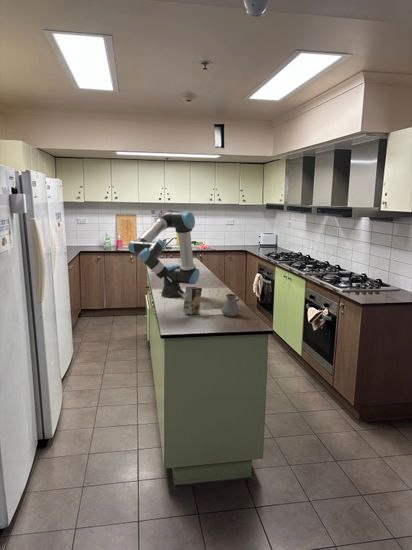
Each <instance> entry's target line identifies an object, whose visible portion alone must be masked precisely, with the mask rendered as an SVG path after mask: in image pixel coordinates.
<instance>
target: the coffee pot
mask: <svg viewBox="0 0 412 550" xmlns="http://www.w3.org/2000/svg"><path fill="white" fill-rule="evenodd" d="M225 296H226V300H225V302H224V304H223V306H222V308H221V309H222V313H223V314H224V315H223V316H226V317H230V318H231V317H232V318H233V317H236V316H238V315H239V313H240V312H241V311H240V308H239V305H238V303H241V299H240V298H237V297H238V295H237V294H235V293H227V294H226V295H225ZM236 298H237V299H236Z"/></svg>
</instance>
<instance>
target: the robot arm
mask: <svg viewBox="0 0 412 550" xmlns="http://www.w3.org/2000/svg"><path fill="white" fill-rule="evenodd" d="M195 224H196V220H195V216H194V214H193V213H192V212H191V211H187V210H168V211H165V212H163V213H162V214H160V215H158V216H157V217H156V218H155V219H154V221H153V224H151V225H150V226H149V227H148V228H147V229H146V231H144V232H143V233H142V235H140V236H139V237H138V239H136V240H131V241H129V242H128V245H127V247H128V248H127V249H128V251H129V252H130V253H134V254H138V258H139V259H140V260H141V262H143V264H145V266H146V267H147V268H149V269H150V270H151V273H152V272H153V273H154V275H156V277H158V279H162V278H163V287H162V290H161V297H162V298H166V299H175V298H176V299H177V298H181V297H182V298H184V299H185V298H186V297H187V296H188V295H187V294H186V293H185V291H184V290H183V289H182V288H181V286H180V284H184V285H196V284H197V282H198V281H199V278H200V269H198V268H197V266H196V264H195V263H194V256H193V247H192V246H193V245H192V235H191V233H192V231H193V229H194V228H195V226H196V225H195ZM169 228H171V229H174V230H175V233H177V235H178V243H179V244H178V245H179V252H180V253H179V255H180V262H181V265H180V264H169V265H166V266H165V265H164V263H163V262H162V261H161V260H160V259H158V257H159V256H160V255H161V254H162V252H163V250H164V248H165V243H164V241H163V240H161V239H158V238H157V237H158V236H159V235H160V234H161V233H162V232H163V231H165V230H167V229H169Z"/></svg>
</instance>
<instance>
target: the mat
mask: <svg viewBox="0 0 412 550" xmlns="http://www.w3.org/2000/svg"><path fill="white" fill-rule="evenodd" d="M197 314H198V315H199V316H201V317H207V316H225V315H224V314H223V313H222V308H213V309H211V308H210V309H200V310H199V313H197Z"/></svg>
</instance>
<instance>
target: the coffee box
mask: <svg viewBox="0 0 412 550" xmlns="http://www.w3.org/2000/svg"><path fill="white" fill-rule="evenodd" d="M202 290H203V288H202V287H199V286H198V287H197V286H186V287H185V291H184V292H185V293H186V294H187V295H188V296H187V297H186V298H184V299H183V311H182V312H183V313H184V314H189V315H194V314H198V313H199V310H201V309H200V307H201V299H202V298H201V297H202Z"/></svg>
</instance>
